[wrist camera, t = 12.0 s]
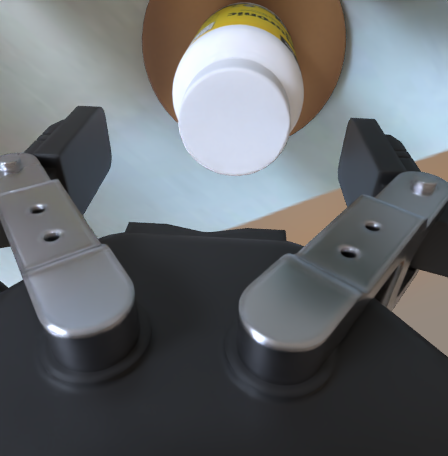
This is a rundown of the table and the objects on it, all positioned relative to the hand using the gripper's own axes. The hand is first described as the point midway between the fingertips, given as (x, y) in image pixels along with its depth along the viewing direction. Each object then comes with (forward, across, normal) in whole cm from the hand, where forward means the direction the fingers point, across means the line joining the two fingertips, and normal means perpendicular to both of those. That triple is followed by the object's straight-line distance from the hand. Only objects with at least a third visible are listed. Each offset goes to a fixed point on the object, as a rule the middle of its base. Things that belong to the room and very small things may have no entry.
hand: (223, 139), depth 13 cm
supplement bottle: (+11, 0, 0) cm, 11 cm away
